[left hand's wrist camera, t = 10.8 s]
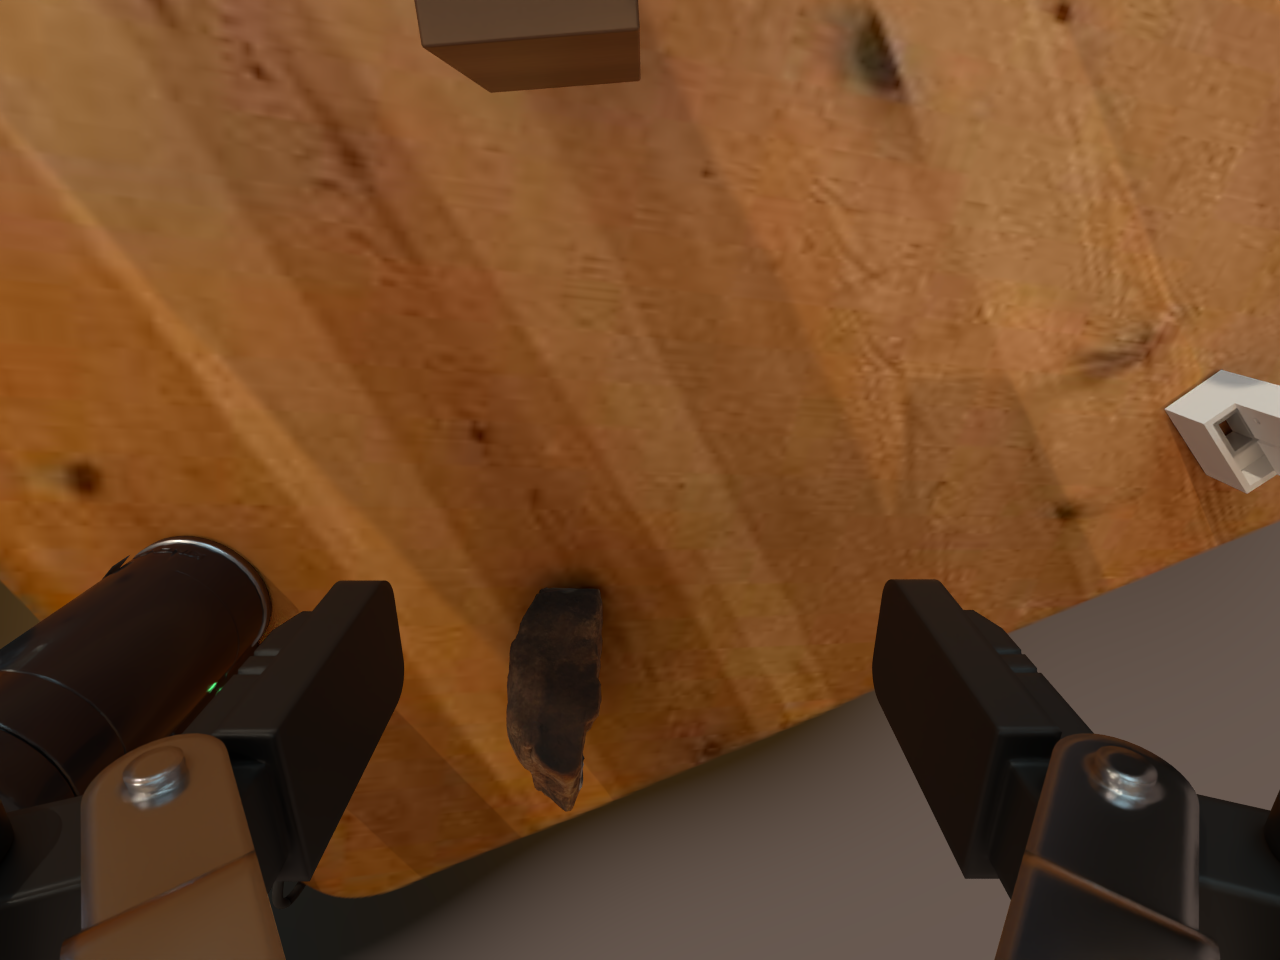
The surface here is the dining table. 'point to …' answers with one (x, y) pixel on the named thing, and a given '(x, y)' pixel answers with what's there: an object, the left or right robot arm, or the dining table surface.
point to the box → (534, 41)
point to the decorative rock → (555, 688)
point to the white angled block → (1257, 414)
